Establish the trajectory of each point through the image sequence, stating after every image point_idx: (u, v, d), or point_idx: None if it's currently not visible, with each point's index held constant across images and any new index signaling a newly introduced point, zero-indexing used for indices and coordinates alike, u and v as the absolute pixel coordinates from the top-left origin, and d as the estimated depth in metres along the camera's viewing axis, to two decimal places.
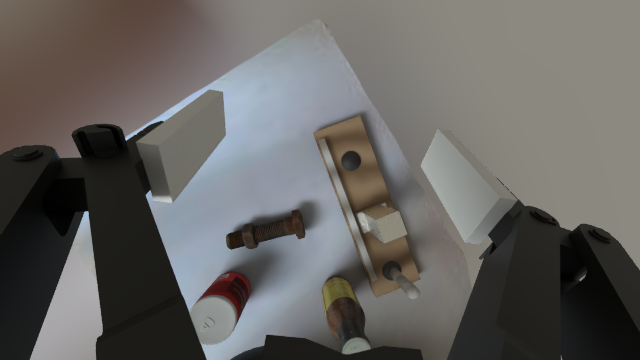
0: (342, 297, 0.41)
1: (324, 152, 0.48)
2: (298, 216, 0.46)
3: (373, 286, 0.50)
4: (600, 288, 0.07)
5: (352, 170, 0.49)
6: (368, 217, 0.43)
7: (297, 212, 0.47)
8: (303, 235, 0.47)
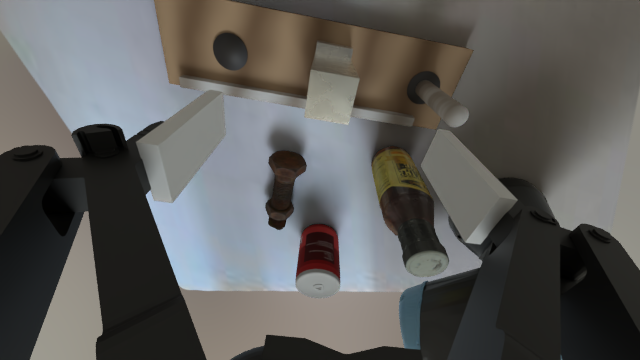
0: (383, 194, 0.30)
1: (201, 88, 0.30)
2: (274, 165, 0.35)
3: (420, 124, 0.34)
4: (600, 288, 0.07)
5: (247, 58, 0.29)
6: None
7: (271, 160, 0.36)
8: (301, 168, 0.36)
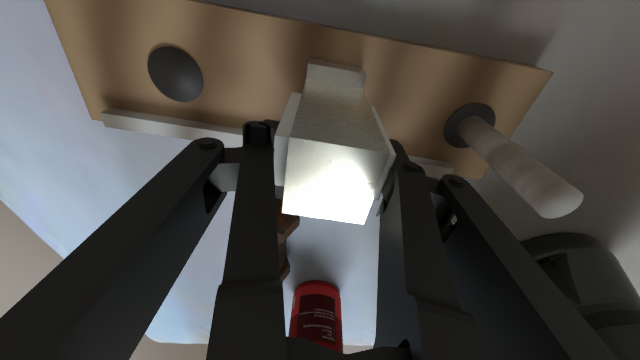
0: None
1: (136, 129, 0.20)
2: None
3: (459, 174, 0.23)
4: (470, 232, 0.08)
5: (202, 84, 0.19)
6: None
7: None
8: (291, 226, 0.26)
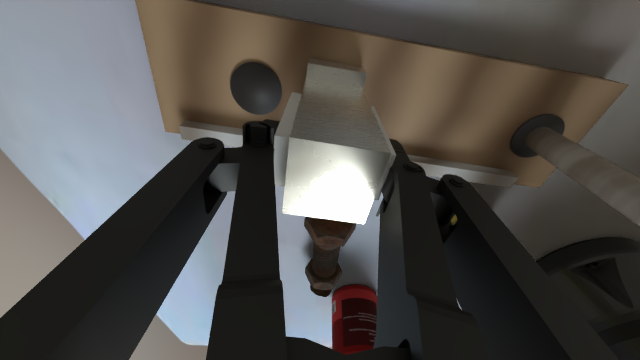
0: None
1: None
2: (314, 232, 0.26)
3: (518, 182, 0.24)
4: (470, 232, 0.08)
5: (281, 98, 0.20)
6: None
7: (308, 224, 0.26)
8: (350, 230, 0.26)
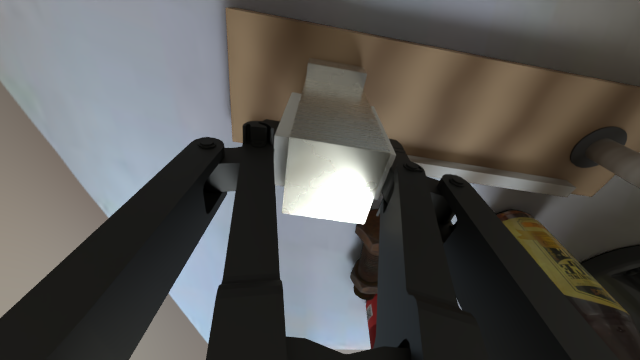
0: None
1: None
2: (369, 239, 0.26)
3: (572, 191, 0.24)
4: (470, 232, 0.08)
5: None
6: None
7: (361, 231, 0.27)
8: None
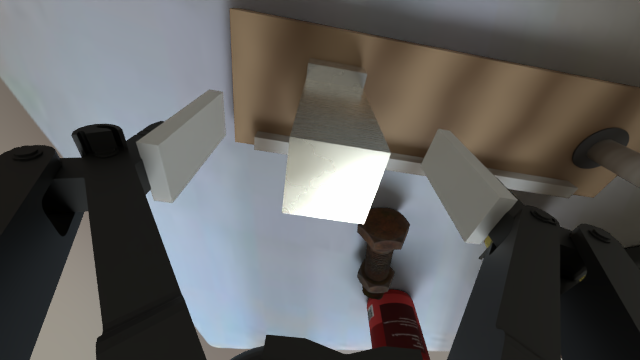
0: None
1: (284, 152, 0.21)
2: (370, 238, 0.26)
3: (574, 192, 0.24)
4: (600, 288, 0.07)
5: None
6: None
7: (363, 230, 0.27)
8: (406, 232, 0.26)
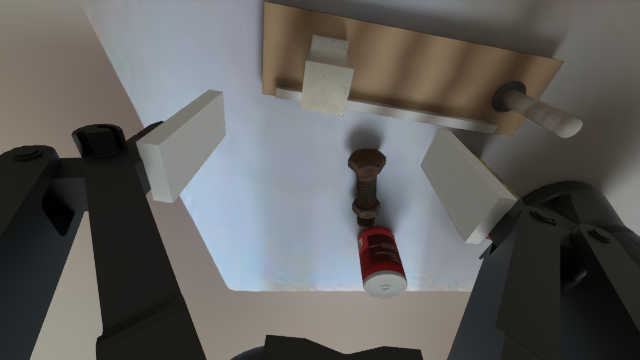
0: None
1: (296, 99, 0.31)
2: (356, 166, 0.36)
3: (498, 131, 0.35)
4: (600, 288, 0.07)
5: None
6: None
7: (351, 163, 0.37)
8: (382, 162, 0.36)
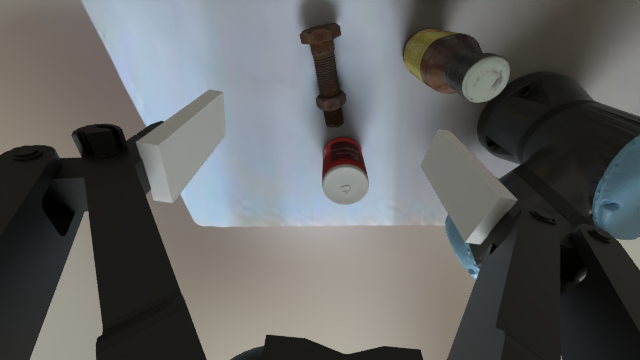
0: (425, 51, 0.29)
1: None
2: (306, 34, 0.33)
3: None
4: (600, 288, 0.07)
5: None
6: None
7: (302, 34, 0.34)
8: (334, 27, 0.33)
